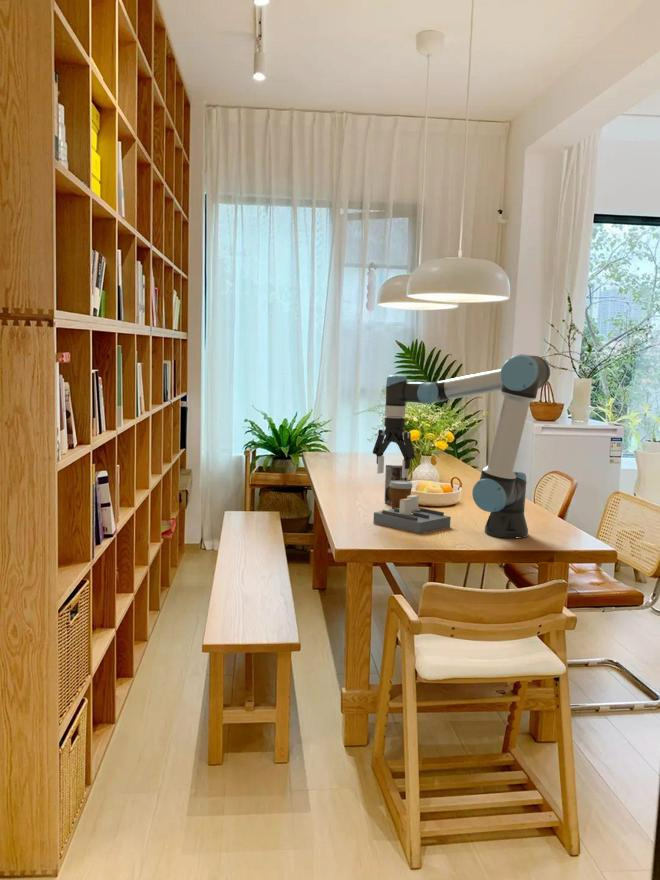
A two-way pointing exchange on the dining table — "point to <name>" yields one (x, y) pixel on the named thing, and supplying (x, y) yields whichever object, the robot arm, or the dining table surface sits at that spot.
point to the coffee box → (392, 479)
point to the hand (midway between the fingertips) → (392, 475)
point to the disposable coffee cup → (399, 491)
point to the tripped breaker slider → (406, 506)
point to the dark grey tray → (413, 518)
